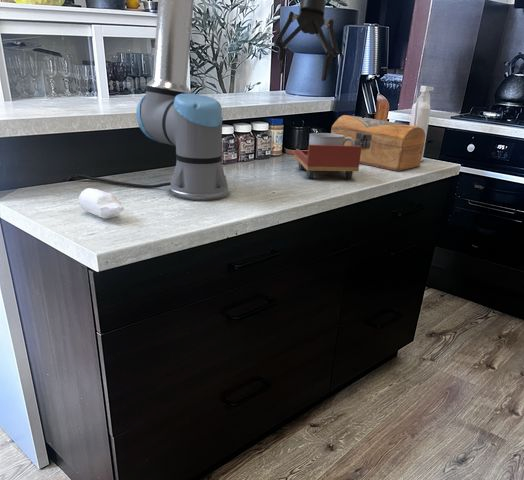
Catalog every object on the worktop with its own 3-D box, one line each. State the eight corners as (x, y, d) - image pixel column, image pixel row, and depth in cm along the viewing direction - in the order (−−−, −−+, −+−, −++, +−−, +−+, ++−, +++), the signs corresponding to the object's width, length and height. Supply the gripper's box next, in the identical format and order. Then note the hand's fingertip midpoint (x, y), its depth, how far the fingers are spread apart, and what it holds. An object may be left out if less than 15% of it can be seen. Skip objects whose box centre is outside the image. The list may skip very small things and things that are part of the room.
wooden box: (325, 157, 192) (329, 116, 185) (351, 152, 202) (356, 113, 195) (395, 172, 174) (403, 128, 167) (420, 166, 185) (428, 124, 178)
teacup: (302, 161, 162) (304, 133, 158) (313, 156, 170) (316, 129, 166) (345, 167, 157) (349, 139, 153) (354, 161, 166) (358, 134, 162)
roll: (110, 226, 112) (107, 200, 109) (79, 213, 119) (76, 189, 116) (133, 221, 116) (131, 196, 113) (102, 209, 123) (99, 185, 120)
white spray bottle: (395, 161, 192) (408, 85, 179) (410, 157, 200) (424, 84, 187) (412, 164, 188) (427, 87, 176) (426, 160, 196) (441, 86, 184)
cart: (306, 180, 158) (309, 145, 153) (293, 167, 174) (296, 134, 169) (356, 181, 161) (361, 146, 155) (339, 168, 177) (343, 135, 171)
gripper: (350, 8, 161) (338, 84, 168) (271, -7, 157) (262, 71, 164) (357, 2, 154) (344, 81, 161) (274, -14, 150) (265, 67, 157)
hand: (302, 76), depth 163 cm, fingers open, 13 cm apart
